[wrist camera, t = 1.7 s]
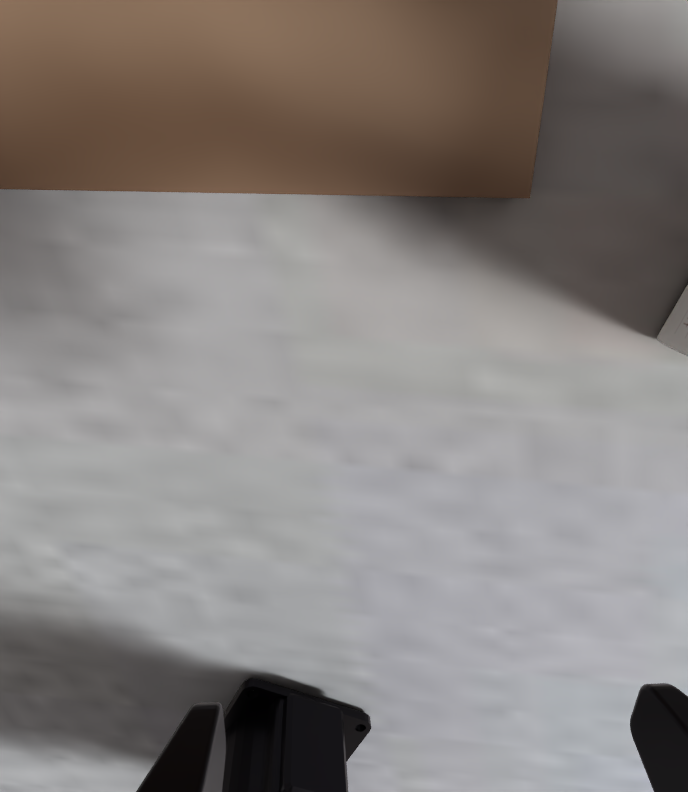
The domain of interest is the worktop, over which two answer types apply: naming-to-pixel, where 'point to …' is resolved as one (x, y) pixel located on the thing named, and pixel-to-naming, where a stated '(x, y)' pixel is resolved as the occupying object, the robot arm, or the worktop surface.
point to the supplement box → (677, 326)
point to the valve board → (274, 96)
